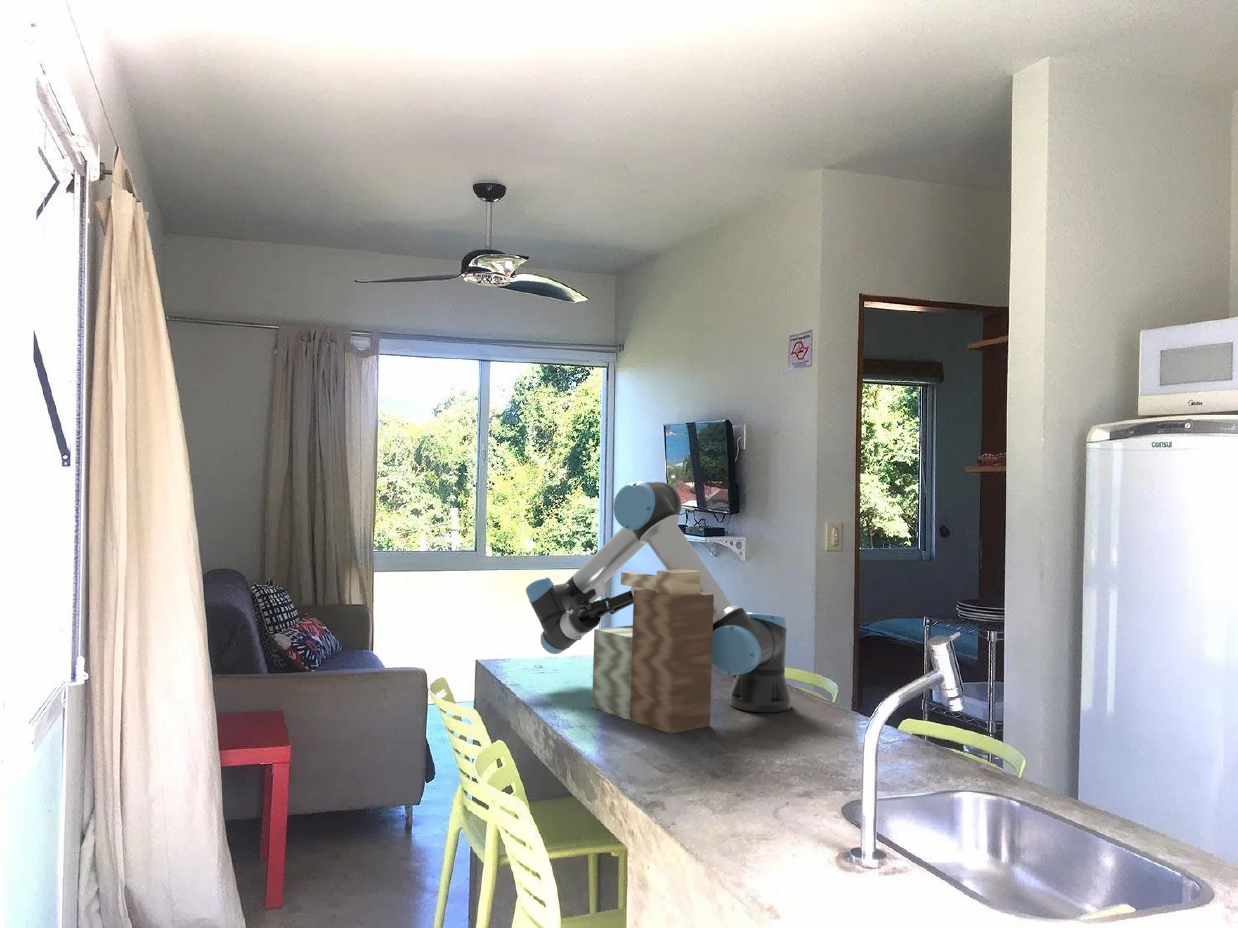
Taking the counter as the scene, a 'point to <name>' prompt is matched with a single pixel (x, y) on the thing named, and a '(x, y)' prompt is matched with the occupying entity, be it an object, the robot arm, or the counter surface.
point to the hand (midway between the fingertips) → (626, 583)
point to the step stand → (658, 662)
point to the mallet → (665, 581)
